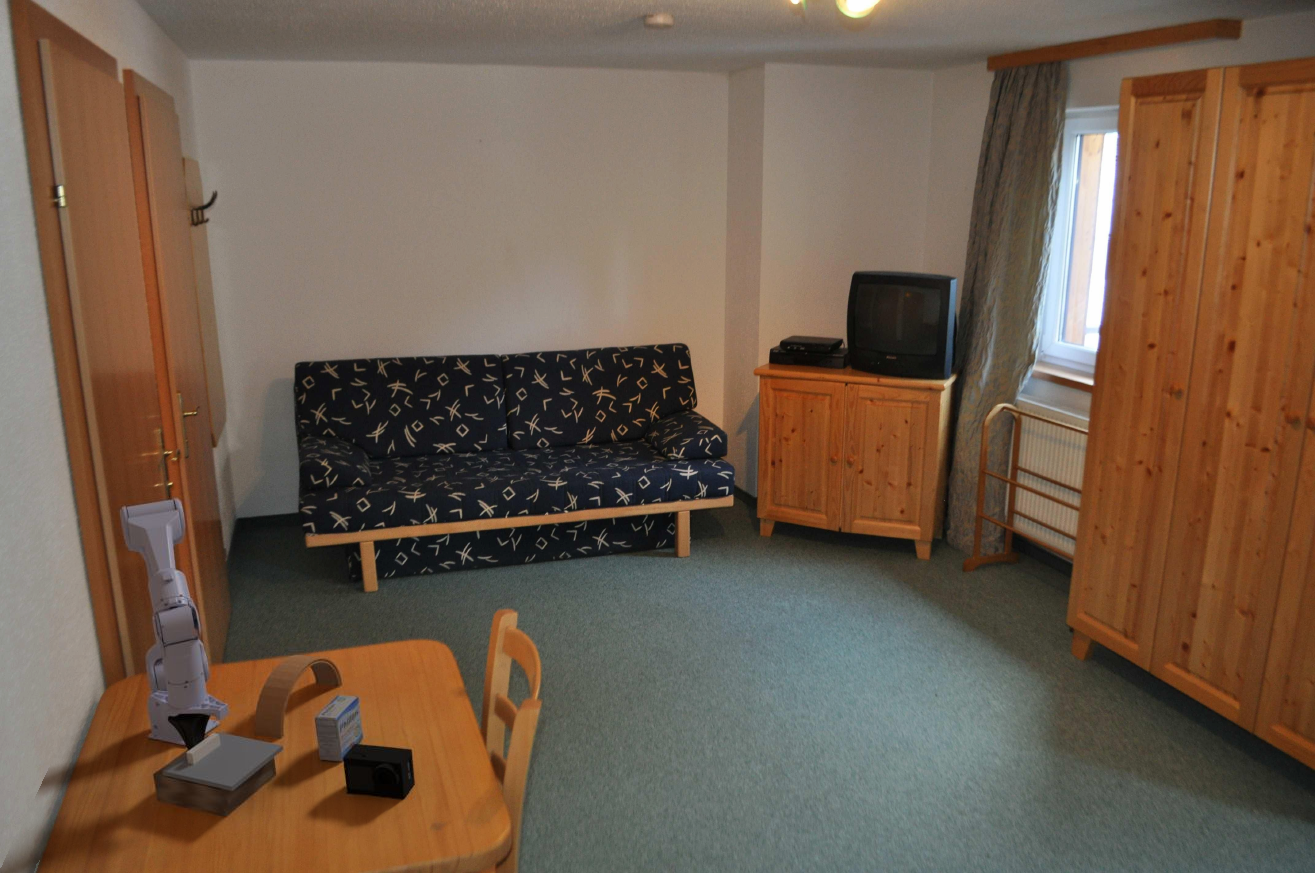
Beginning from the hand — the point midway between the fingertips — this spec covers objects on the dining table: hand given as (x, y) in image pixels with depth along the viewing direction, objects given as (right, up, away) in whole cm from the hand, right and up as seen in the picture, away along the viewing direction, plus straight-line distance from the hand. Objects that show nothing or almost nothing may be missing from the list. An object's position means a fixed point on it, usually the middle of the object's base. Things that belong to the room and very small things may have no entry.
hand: (196, 748), depth 163 cm
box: (+3, -7, +1) cm, 8 cm away
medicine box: (+21, -4, +11) cm, 24 cm away
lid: (+5, -2, -1) cm, 6 cm away
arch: (+8, 0, +25) cm, 26 cm away
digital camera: (+31, -7, -1) cm, 32 cm away
